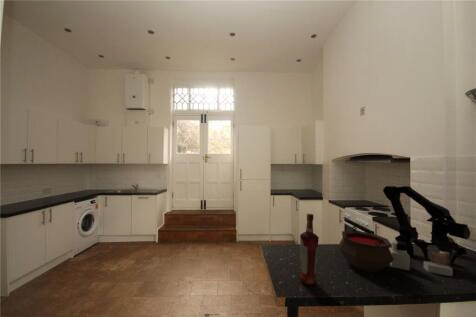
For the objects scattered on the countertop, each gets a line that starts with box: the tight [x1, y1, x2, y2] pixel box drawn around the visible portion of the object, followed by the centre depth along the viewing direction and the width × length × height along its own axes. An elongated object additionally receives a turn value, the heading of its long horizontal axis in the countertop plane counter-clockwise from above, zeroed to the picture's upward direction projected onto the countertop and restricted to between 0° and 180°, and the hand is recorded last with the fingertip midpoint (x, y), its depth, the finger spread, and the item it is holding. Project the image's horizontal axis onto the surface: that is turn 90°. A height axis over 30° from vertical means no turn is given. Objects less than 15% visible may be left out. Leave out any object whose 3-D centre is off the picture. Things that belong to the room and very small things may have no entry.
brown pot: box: [339, 225, 394, 273], centre depth 103 cm, size 24×24×16 cm
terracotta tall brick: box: [430, 251, 448, 265], centre depth 106 cm, size 4×4×6 cm
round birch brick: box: [439, 250, 449, 265], centre depth 110 cm, size 5×5×5 cm
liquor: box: [298, 213, 320, 286], centre depth 87 cm, size 7×7×28 cm
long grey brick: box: [423, 260, 454, 277], centre depth 100 cm, size 9×4×4 cm, turn 69°
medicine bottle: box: [389, 239, 411, 271], centre depth 104 cm, size 7×7×12 cm
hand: (438, 263), depth 106 cm, fingers open, 9 cm apart
